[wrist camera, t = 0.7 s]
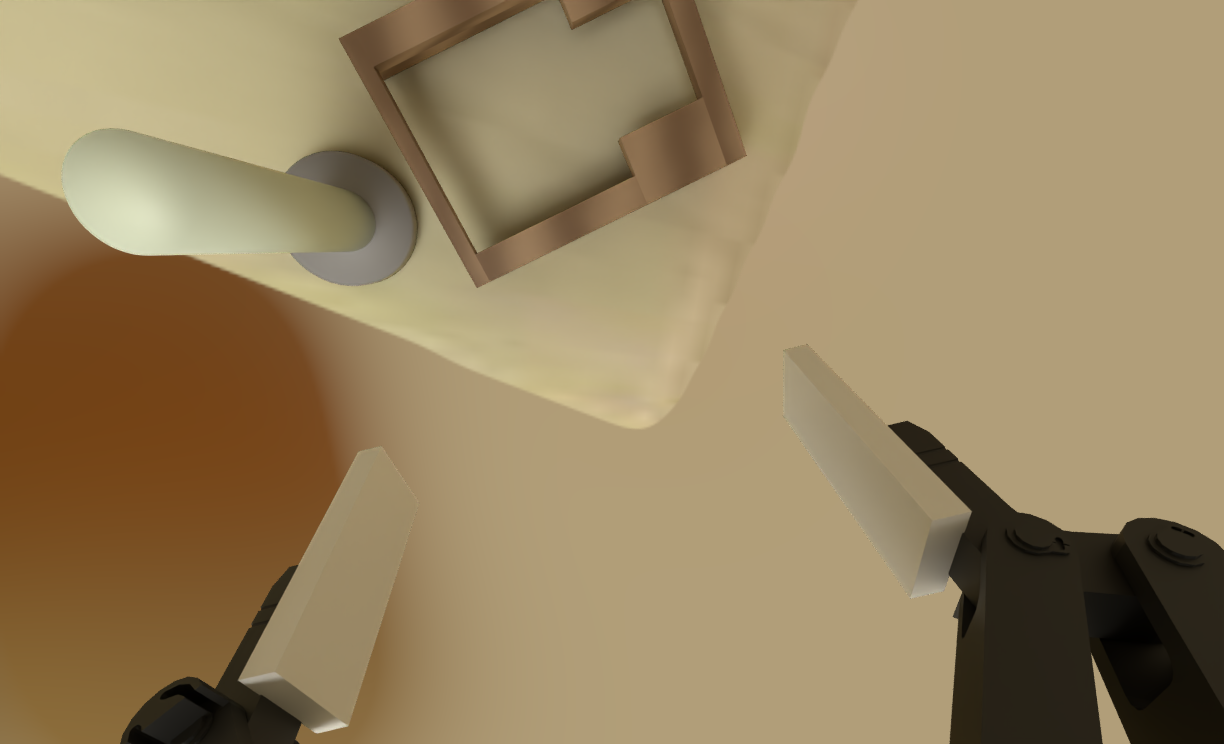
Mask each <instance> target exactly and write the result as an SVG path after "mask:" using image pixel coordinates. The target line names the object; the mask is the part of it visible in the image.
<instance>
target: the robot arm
mask: <svg viewBox="0 0 1224 744" xmlns="http://www.w3.org/2000/svg"><path fill="white" fill-rule="evenodd" d="M783 352H784V353H783V354H784V355H783V358H784V361H783V364H784V365H783V366H784V369H783V370H784V373H783V375H784V377H783V379H784V380H783V382H784V386H783V387H784V388H783V393H784V394H783V396H784V398H783V399H784V400H783V407H784V410H783V412H784V413H783V416H784V418H785V419H786V421H787V422H788V424H789V425H790V427H791V428H792V430H793V431H794V432H795V434H796V435H797V437H798V438H799V440H800V441H801V442H802V444H803V445H804V447H805V448H806V449H807V451H808V452H809V454H810V455H811V457H812V458H813V460H814V461H815V463H816V464H817V465H818V467H819V468H820V470H821V471H822V473H823V474H824V475H825V477H826V478H827V480H828V481H829V483H830V484H831V485H832V487H833V488H834V490H835V491H836V493H837V494H838V495H839V497H840V498H841V500H842V501H843V502H844V504H845V506H846V507H847V508H848V510H849V511H850V513H851V514H852V516H853V517H854V519H855V520H856V521H857V523H858V524H859V526H860V527H861V528H862V530H863V531H864V533H865V534H866V536H867V537H868V538H869V540H870V541H871V543H872V544H873V545H874V547H875V549H876V550H877V551H878V553H879V554H880V556H881V557H882V559H883V560H884V562H885V563H886V564H887V566H888V567H889V569H890V570H891V572H892V573H893V574H894V576H895V577H896V579H897V580H898V582H899V583H900V584H901V586H902V587H903V589H904V590H905V592H906V593H907V595H908V596H909V597H910V599H911V598H915V597H920V596H924V595H929V594H933V593H937V592H942V591H944V589H945V587H946V584H947V581H948V578H949V576H950V577H951V578H952V579H953V581H954V582H955V583H956V584H957V586H958V587H959V588H960V589H961V590H962V594H961V597H960V599H959V602H958V605H957V607H956V610H955V612H954V615H953V617H954V618H957V619H958V632H957V647H956V660H955V675H954V688H953V704H952V718H951V731H950V744H1103V743H1102V735H1101V727H1100V720H1099V712H1098V704H1097V696H1096V688H1095V681H1094V672H1093V665H1092V657H1091V653H1092V656H1093V658H1094V660H1095V663H1096V665H1097V667H1098V670H1099V672H1100V674H1101V676H1102V679H1103V681H1104V683H1105V686H1106V688H1107V690H1108V692H1109V695H1110V697H1111V699H1112V702H1113V704H1114V706H1115V709H1116V711H1117V713H1118V716H1119V718H1120V720H1121V723H1122V725H1123V727H1124V729H1125V732H1126V734H1127V736H1128V739H1129V741H1130V743H1131V744H1224V550H1223V549H1222V548H1221V547H1220V546H1219V545H1218V544H1217V543H1216V542H1214V541H1213V540H1211V539H1209V538H1207V537H1206V536H1204V535H1203V534H1201V533H1199V532H1198V531H1196V530H1193V529H1191V528H1188V527H1186V526H1183V525H1181V524H1178V523H1175V522H1171V521H1167V520H1162V519H1157V518H1137V519H1135V520H1132V521H1130V522H1127V523H1126V525H1125V526H1124V528H1123V529H1122V531H1121V532H1120V534H1103V533H1085V532H1070V531H1063V530H1061V529H1060V528H1058V527H1056V526H1055V525H1053V524H1052V523H1050V522H1048V521H1047V520H1044V519H1041V518H1039V517H1036V516H1033V515H1031V514H1025V513H1018V512H1016V511H1015V510H1014V509H1012V508H1011V507H1010V506H1009V505H1008V504H1007V503H1006V502H1004V501H1003V500H1002V499H1001V498H1000V497H999V496H998V495H997V494H996V493H995V492H994V491H993V490H991V489H990V488H989V487H988V486H987V485H986V484H985V483H984V482H983V481H982V480H980V478H978V477H977V476H976V475H975V474H974V473H973V472H972V471H971V470H970V469H969V468H968V467H967V466H965V465H964V464H963V463H962V462H959V461H958V458H957V457H956V456H955V455H953V454H952V453H951V452H950V451H949V450H946V449H945V446H944V445H943V444H941V443H940V442H939V441H938V440H937V439H936V438H935V437H934V436H933V435H932V434H931V433H930V432H928V431H926V430H924V429H922V428H920V427H918V426H916V425H914V424H912V423H910V422H908V421H905V422H900V423H896V424H892V425H888V426H887V425H886V424H885V423H884V422H883V421H882V420H881V419H880V418H879V417H878V416H877V415H876V414H875V412H873V410H871V408H869V406H867V404H866V403H865V402H864V401H863V400H862V399H861V398H860V397H859V396H858V395H857V394H856V393H855V392H854V391H853V390H852V389H851V388H850V387H849V386H848V385H847V384H846V383H845V382H844V381H843V380H842V379H841V378H840V377H839V376H838V375H837V374H836V373H835V372H834V371H833V370H832V369H831V368H830V367H829V366H828V365H827V364H826V363H825V362H824V361H823V360H822V359H821V358H820V357H819V356H818V355H817V354H816V353H815V351H814V350H812V348H810V347H809V345H808V344H806V345H802V346H798V347H794V348H789V349H785V350H783ZM418 505H419V502H418V500H417V499H416V497H415V495H414V494H413V492H412V491H411V490H410V488H409V486H408V485H407V483H406V482H405V480H404V479H403V478H402V476H401V474H400V473H399V471H398V470H397V468H396V467H395V465H394V464H393V462H392V461H391V459H390V458H389V456H388V455H387V453H386V452H385V451H384V449H383V447H382V446H380V447H375V448H371V449H367V450H363V451H359V452H358V454H357V456H356V457H355V459H354V461H353V463H352V465H351V467H350V469H349V471H348V473H347V475H346V476H345V478H344V480H343V482H342V484H341V486H340V488H339V490H338V491H337V493H336V495H335V497H334V499H333V501H332V503H331V505H330V507H329V509H328V510H327V512H326V514H325V516H324V518H323V520H322V522H321V524H320V526H319V528H318V529H317V531H316V533H315V535H314V537H313V539H312V541H311V543H310V545H309V547H308V548H307V550H306V552H305V554H304V556H303V558H302V560H301V562H300V564H299V565H296V566H292V567H289V568H288V569H287V571H286V572H285V573H284V574H283V575H282V576H281V577H280V578H279V580H278V581H277V582H276V583H275V584H274V585H273V586H272V588H271V590H270V592H269V593H268V595H267V597H266V599H265V601H264V603H263V604H262V606H261V611H258V613H257V615H256V617H255V619H254V621H253V622H252V627H251V628H249V629H248V631H247V633H246V635H245V636H244V639H243V640H242V642H241V644H240V646H239V647H238V649H237V651H236V653H235V655H234V656H233V658H232V660H231V662H230V663H229V665H228V667H227V669H226V671H225V672H224V675H223V676H222V678H221V680H220V681H219V683H218V685H217V687H216V688H215V689H214V688H212V687H211V686H209V685H208V684H206V683H205V682H203V681H202V680H200V679H198V678H194V677H186V678H183V679H180V680H177V681H175V682H173V683H171V684H170V685H168V686H167V687H165V688H163V689H162V690H160V691H159V692H158V693H157V694H155V696H153V697H152V698H151V699H150V700H149V701H147V702H146V703H145V704H144V705H143V706H142V708H141V709H140V710H139V711H138V712H137V714H136V715H135V716H134V717H133V718H132V719H131V721H130V723H129V725H128V727H127V728H126V730H125V732H124V733H123V735H122V739H121V743H120V744H299V743H298V741H296V740H295V739H296V736H297V733H298V731H299V728H300V726H301V723H302V724H303V725H305V726H306V727H308V728H309V729H310V730H312V731H313V732H315V733H320V732H325V731H329V730H333V729H338V728H342V727H347V726H348V725H349V722H350V719H351V716H352V712H353V710H354V707H355V703H356V700H357V697H358V694H359V691H360V687H361V684H362V681H363V678H364V675H365V672H366V669H367V666H368V662H369V659H370V656H371V653H372V650H373V647H374V644H375V640H376V637H377V634H378V631H379V628H380V625H381V622H382V618H383V615H384V612H385V609H386V606H387V602H388V600H389V596H390V593H391V590H392V587H393V584H394V581H395V578H396V574H397V571H398V568H399V565H400V562H401V559H402V555H403V552H404V549H405V546H406V543H407V540H408V537H409V533H410V530H411V527H412V524H413V521H414V518H415V515H416V511H417V508H418Z"/></svg>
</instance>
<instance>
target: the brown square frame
mask: <svg viewBox="0 0 1224 744" xmlns="http://www.w3.org/2000/svg"><path fill="white" fill-rule="evenodd" d="M541 1H543V0H415V1H413V2H411V3H409V4H407V5H405V6H403V7H401V8H399V9H397V10H395V11H393V12H391V13H389V14H387V15H385V16H383V17H381V18H379V19H377V20H375V21H373V22H371V23H369V24H367V25H365V26H363V27H361V28H359V29H357V30H355V31H353V32H351V33H349V34H347V35H345V36H343V37H341V38H339V40H340V42H341V44H342V46H343V47H344V49H345V51H346V53H347V55H348V56H349V58H350V60H351V62H352V64H353V65H354V67H355V69H356V71H357V73H358V74H359V76H360V78H361V80H362V82H363V83H364V85H365V87H366V89H367V91H368V92H369V94H370V96H371V98H372V100H373V102H374V103H375V105H376V107H377V109H378V111H379V112H380V114H381V116H382V118H383V120H384V121H385V123H386V125H387V127H388V129H389V130H390V132H391V134H392V136H393V138H394V139H395V141H396V143H397V145H398V147H399V148H400V150H401V152H402V154H403V156H404V157H405V159H406V161H407V163H408V165H409V166H410V168H411V170H412V172H413V174H414V175H415V177H416V179H417V181H418V183H419V184H420V186H421V188H422V190H423V192H424V193H425V195H426V197H427V199H428V201H429V202H430V204H431V206H432V208H433V210H434V212H435V213H436V215H437V217H438V219H439V221H440V222H441V224H442V226H443V228H444V230H445V231H446V233H447V235H448V237H449V239H450V240H451V242H452V244H453V246H454V248H455V249H456V251H457V253H458V255H459V257H460V258H461V260H462V262H463V264H464V266H465V267H466V269H467V271H468V273H469V275H470V276H471V278H472V280H473V282H474V284H475V285H476V287H477V288H478V287H480V286H482V285H484V284H486V283H488V282H490V281H492V280H494V279H496V278H498V277H500V276H502V275H505V274H507V273H509V272H511V271H513V270H515V269H517V268H519V267H521V266H523V265H525V264H527V263H529V262H531V261H533V260H535V259H537V258H539V257H541V256H543V255H545V254H547V253H549V252H551V251H554V250H556V249H558V248H560V247H562V246H564V245H566V244H568V243H570V242H572V241H574V240H576V239H578V238H580V237H582V236H584V235H586V234H588V233H590V232H592V231H594V230H596V229H598V228H600V227H602V226H605V225H607V224H609V223H611V222H613V221H615V220H617V219H619V218H621V217H623V216H625V215H627V214H629V213H631V212H633V211H635V210H637V209H639V208H641V207H643V206H645V205H647V204H649V203H651V202H654V201H656V200H658V199H660V198H662V197H664V196H666V195H668V194H670V193H672V192H674V191H676V190H678V189H680V188H682V187H684V186H686V185H688V184H690V183H692V182H694V181H696V180H698V179H700V178H702V177H705V176H707V175H709V174H711V173H713V172H715V171H717V170H719V169H721V168H723V167H725V166H727V165H729V164H731V163H733V162H735V161H737V160H739V159H741V158H743V157H745V156H747V155H746V152H745V149H744V146H743V143H742V140H741V137H740V134H739V131H738V128H737V125H736V122H735V119H734V116H733V113H732V111H731V108H730V105H729V102H728V99H727V96H726V93H725V90H724V87H723V84H722V81H721V78H720V75H719V72H718V69H717V66H716V63H715V60H714V57H713V54H712V51H711V48H710V45H709V43H708V40H707V37H706V34H705V31H704V28H703V25H702V22H701V19H700V16H699V13H698V10H697V7H696V4H695V1H694V0H662V2H663V5H664V7H665V10H666V13H667V16H668V19H669V21H670V24H671V27H672V30H673V33H674V35H675V38H676V41H677V44H678V47H679V49H680V52H681V55H682V58H683V61H684V63H685V66H686V69H687V72H688V75H689V77H690V80H691V83H692V86H693V89H694V91H695V94H696V97H697V100H696V101H694V102H692V103H690V104H688V105H686V106H684V107H682V108H680V109H678V110H676V111H674V112H672V113H670V114H667V115H665V116H663V117H661V118H659V119H657V120H655V121H653V122H651V123H649V124H647V125H645V126H643V127H641V128H639V129H637V130H635V131H633V132H631V133H629V134H627V135H625V136H623V137H621V138H620V139H619V141H618V142H619V145H620V147H621V150H622V152H623V155H624V157H625V159H626V162H627V164H628V167H629V169H630V171H631V174H632V176H633V177H632V178H629V179H627V180H625V181H623V182H621V183H619V184H617V185H615V186H613V187H611V188H609V189H607V190H605V191H603V192H601V193H599V194H597V195H595V196H593V197H591V198H589V199H587V200H585V201H583V202H581V203H579V204H577V205H575V206H573V207H570V208H568V209H566V210H564V211H562V212H560V213H558V214H556V215H554V216H552V217H550V218H548V219H546V220H544V221H542V222H540V223H538V224H536V225H534V226H532V227H530V228H528V229H526V230H524V231H522V232H520V233H518V234H516V235H513V236H511V237H509V238H507V239H505V240H503V241H501V242H499V243H497V244H495V245H493V246H491V247H489V248H487V249H485V250H483V251H481V252H479V253H477V252H476V250H475V248H474V246H473V245H472V243H471V241H470V239H469V237H468V235H467V233H466V232H465V230H464V228H463V226H462V224H461V222H460V221H459V219H458V217H457V215H456V213H455V211H454V209H453V208H452V206H451V204H450V202H449V200H448V198H447V196H446V195H445V193H444V191H443V189H442V187H441V185H440V184H439V182H438V180H437V178H436V176H435V174H434V172H433V171H432V169H431V167H430V165H429V163H428V161H427V160H426V158H425V156H424V154H423V152H422V150H421V148H420V147H419V145H418V143H417V141H416V139H415V137H414V136H413V134H412V132H411V130H410V128H409V126H408V124H407V123H406V121H405V119H404V117H403V115H402V113H401V112H400V110H399V108H398V106H397V104H396V102H395V100H394V99H393V97H392V95H391V93H390V91H389V89H388V88H387V86H386V84H385V82H384V80H385V79H387V78H389V77H391V76H393V75H395V74H397V73H399V72H401V71H403V70H405V69H407V68H409V67H411V66H413V65H415V64H417V63H419V62H421V61H423V60H425V59H427V58H429V57H431V56H433V55H435V54H437V53H439V52H441V51H443V50H445V49H447V48H449V47H451V46H453V45H455V44H457V43H459V42H461V41H463V40H465V39H467V38H469V37H471V36H473V35H475V34H477V33H479V32H481V31H483V30H485V29H487V28H489V27H491V26H493V25H495V24H497V23H499V22H501V21H503V20H505V19H507V18H509V17H511V16H513V15H515V14H517V13H519V12H521V11H523V10H525V9H527V8H529V7H531V6H533V5H535V4H537V3H539V2H541ZM559 1H560V3H561V5H562V8H563V10H564V13H565V15H566V17H567V20H568V22H569V25H570V27H571V29H572V30H573V29H575V28H577V27H579V26H581V25H583V24H585V23H587V22H589V21H591V20H593V19H595V18H597V17H599V16H601V15H603V14H605V13H607V12H609V11H611V10H613V9H615V8H617V7H619V6H621V5H623V4H625V3H627V2H629V1H631V0H559Z"/></svg>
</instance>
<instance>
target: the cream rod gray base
mask: <svg viewBox="0 0 1224 744" xmlns="http://www.w3.org/2000/svg"><path fill="white" fill-rule="evenodd" d="M62 185H63V190H64V194H65V197H66V199H67V202H68V204H69V206H70V208H71V210H72V211H73V213H74V215H75V216H76V217H77V219H78V220H79V221H80V222H81V224H82V225H83V226H84V227H85V228H86V229H87V230H88V231H89V232H90V233H91V234H93V235H94V236H95V237H97V238H98V239H99V240H101V241H102V242H104V243H106V244H107V245H109V246H111V247H113V248H116V249H118V250H121V251H123V252H127V253H131V254H136V255H197V254H253V253H290V254H291V255H292V256H293V257H294V258H295V259H296V261H297V262H298V263H299V264H300V265H302V266H303V267H304V268H305V269H306V270H308V271H309V272H311V273H312V274H314V275H316V276H318V277H319V278H321V279H324V280H326V281H329V282H332V283H335V284H339V285H347V286H359V285H366V284H372V283H376V282H380V281H383V280H385V279H388V278H389V277H391V276H393V275H394V274H396V273H397V272H398V271H399V270H401V269H402V267H403V266H404V265H405V264H406V263H407V261H408V260H409V258H410V257H411V255H412V253H413V250H414V247H415V244H416V239H417V219H416V214H415V210H414V207H413V205H412V202H411V200H410V198H409V196H408V194H407V193H406V191H405V190H404V188H403V187H402V185H401V184H400V183H399V182H398V181H397V180H396V179H395V178H394V177H393V176H392V175H391V174H390V173H389V172H387V171H386V170H385V169H384V168H382V167H380V166H379V165H377V164H375V163H373V162H371V161H369V160H366V159H364V158H362V157H360V156H357V155H354V154H351V153H346V152H341V151H324V152H318V153H314V154H311V155H309V156H306V157H304V158H302V159H301V160H299V161H297V162H296V163H295V164H294V165H293V166H291V167H290V168H289V170H288V171H287V172H286V173H283V172H279V171H276V170H272V169H268V168H265V167H261V166H257V165H254V164H250V163H246V162H243V161H239V160H235V159H232V158H228V157H224V156H221V155H217V154H214V153H210V152H206V151H203V150H199V149H195V148H192V147H188V146H184V145H181V144H177V143H173V142H170V141H166V140H162V139H159V138H155V137H151V136H148V135H144V134H140V133H137V132H133V131H129V130H124V129H113V128H109V129H100V130H96V131H93V132H90V133H88V134H86V135H84V136H82V137H81V138H79V139H78V140H77V141H76V142H75V143H74V144H73V145H72V146H71V147H70V149H69V150H68V152H67V154H66V156H65V159H64V162H63V166H62Z"/></svg>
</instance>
